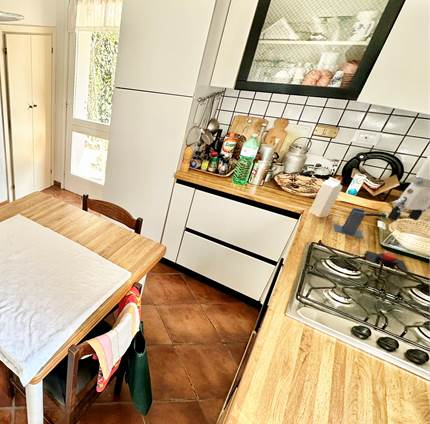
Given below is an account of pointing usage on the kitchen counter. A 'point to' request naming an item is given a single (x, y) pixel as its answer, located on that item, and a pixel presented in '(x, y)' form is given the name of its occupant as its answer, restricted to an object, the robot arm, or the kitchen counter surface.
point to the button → (389, 256)
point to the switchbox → (385, 260)
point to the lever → (377, 215)
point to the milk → (326, 197)
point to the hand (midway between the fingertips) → (402, 219)
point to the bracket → (352, 224)
